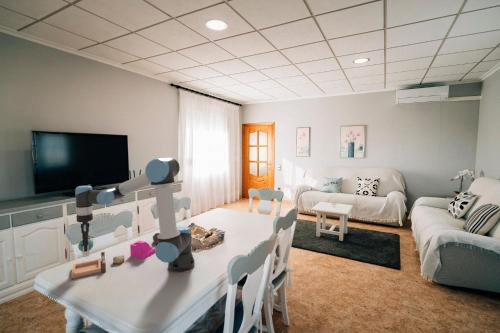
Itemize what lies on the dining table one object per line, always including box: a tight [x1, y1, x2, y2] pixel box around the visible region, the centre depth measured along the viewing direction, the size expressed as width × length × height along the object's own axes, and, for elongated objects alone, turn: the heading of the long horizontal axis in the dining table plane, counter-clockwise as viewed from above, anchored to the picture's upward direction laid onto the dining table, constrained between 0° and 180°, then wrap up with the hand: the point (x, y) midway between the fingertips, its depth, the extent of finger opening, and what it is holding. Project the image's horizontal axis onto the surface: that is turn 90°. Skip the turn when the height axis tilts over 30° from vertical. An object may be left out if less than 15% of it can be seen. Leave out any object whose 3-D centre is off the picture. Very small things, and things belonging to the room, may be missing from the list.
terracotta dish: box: [71, 258, 102, 280], centre depth 137 cm, size 13×13×2 cm
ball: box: [77, 238, 94, 253], centre depth 136 cm, size 7×7×7 cm
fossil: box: [152, 232, 160, 246], centre depth 178 cm, size 11×9×10 cm
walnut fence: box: [100, 251, 107, 274], centre depth 142 cm, size 18×2×5 cm, turn 33°
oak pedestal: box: [112, 254, 125, 265], centre depth 147 cm, size 6×6×3 cm
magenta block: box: [129, 240, 155, 260], centre depth 158 cm, size 12×10×10 cm
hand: (86, 253), depth 136 cm, fingers closed on ball, 7 cm apart
